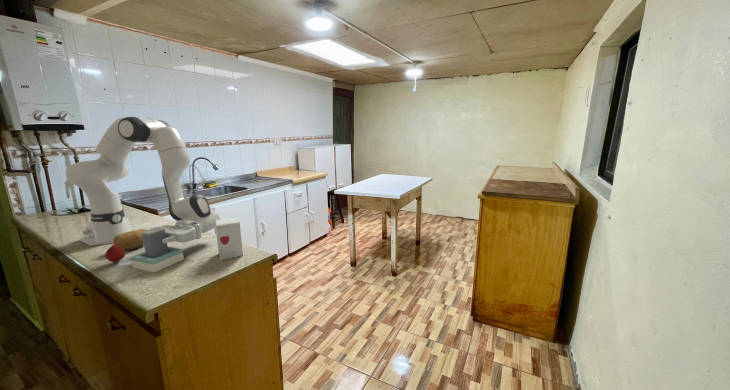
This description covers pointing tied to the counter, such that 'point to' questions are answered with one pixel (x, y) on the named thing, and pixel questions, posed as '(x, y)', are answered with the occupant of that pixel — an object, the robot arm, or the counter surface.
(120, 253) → the onion
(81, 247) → the counter surface
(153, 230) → the blue-grey box
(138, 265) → the display stand
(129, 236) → the potato
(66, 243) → the counter surface
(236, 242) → the supplement box
